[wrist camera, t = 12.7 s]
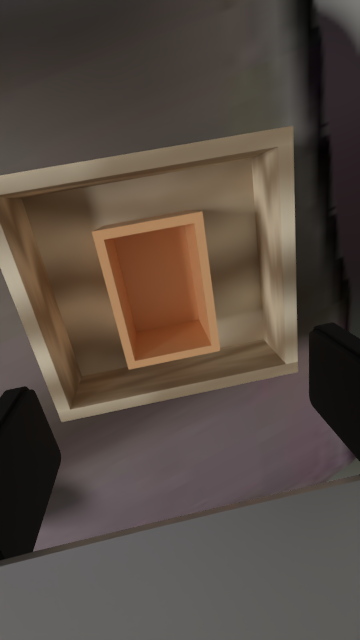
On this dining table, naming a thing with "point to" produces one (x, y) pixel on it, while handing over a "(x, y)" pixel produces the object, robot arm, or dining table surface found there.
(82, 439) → the dining table surface
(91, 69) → the dining table surface
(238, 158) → the big crate
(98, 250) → the box
